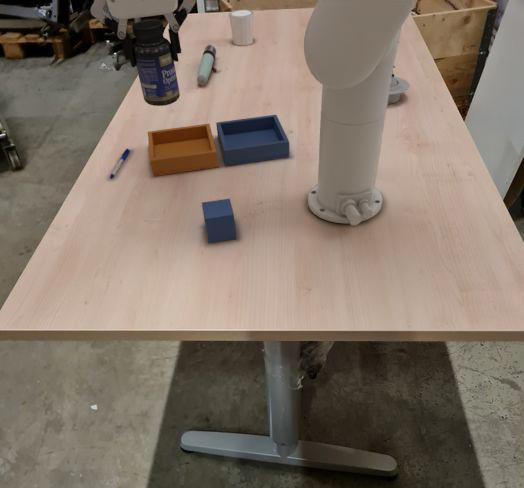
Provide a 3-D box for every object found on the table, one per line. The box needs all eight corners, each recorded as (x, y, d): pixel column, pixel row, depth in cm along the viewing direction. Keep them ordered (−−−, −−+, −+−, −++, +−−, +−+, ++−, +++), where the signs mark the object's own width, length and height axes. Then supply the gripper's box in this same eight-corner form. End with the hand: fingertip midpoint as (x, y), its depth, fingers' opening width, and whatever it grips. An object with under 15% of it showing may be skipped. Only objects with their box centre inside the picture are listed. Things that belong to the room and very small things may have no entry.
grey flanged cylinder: (385, 47, 95) (427, 38, 97) (359, 33, 101) (400, 24, 103) (376, 111, 105) (416, 101, 107) (354, 94, 111) (391, 85, 113)
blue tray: (289, 157, 94) (289, 141, 91) (225, 166, 93) (223, 150, 90) (276, 129, 101) (276, 114, 99) (217, 137, 100) (216, 122, 98)
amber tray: (218, 167, 93) (216, 151, 90) (153, 176, 92) (149, 160, 89) (211, 138, 100) (209, 123, 98) (151, 146, 99) (147, 131, 97)
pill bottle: (174, 107, 79) (159, 30, 71) (139, 106, 80) (121, 30, 72) (184, 92, 83) (172, 17, 75) (151, 91, 84) (135, 17, 76)
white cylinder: (227, 40, 138) (225, 12, 133) (249, 36, 140) (247, 7, 134) (237, 47, 134) (234, 18, 129) (259, 43, 136) (257, 13, 130)
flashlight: (214, 80, 116) (222, 49, 129) (197, 71, 114) (207, 41, 127) (209, 92, 118) (217, 61, 131) (192, 84, 117) (202, 53, 129)
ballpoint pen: (126, 151, 99) (125, 147, 98) (130, 151, 98) (129, 147, 98) (110, 179, 92) (108, 174, 91) (114, 179, 92) (113, 174, 91)
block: (236, 238, 78) (233, 214, 74) (208, 243, 77) (204, 218, 74) (232, 222, 81) (229, 198, 77) (205, 226, 80) (201, 202, 77)
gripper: (56, -77, 60) (100, 77, 74) (192, -91, 62) (211, 62, 76) (60, -87, 65) (100, 60, 79) (186, -99, 67) (204, 46, 80)
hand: (154, 60), depth 77 cm, fingers closed on pill bottle, 6 cm apart
